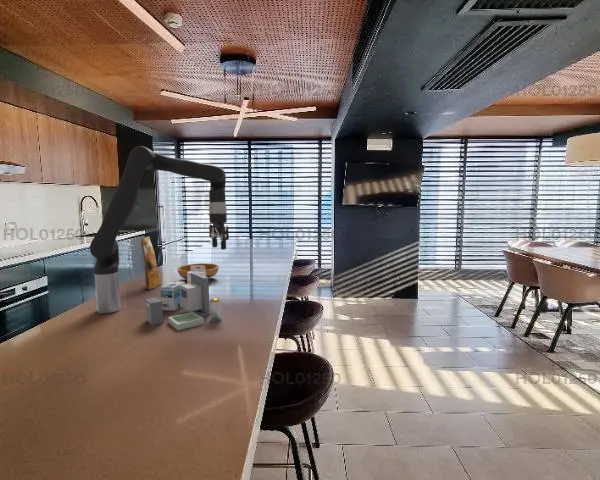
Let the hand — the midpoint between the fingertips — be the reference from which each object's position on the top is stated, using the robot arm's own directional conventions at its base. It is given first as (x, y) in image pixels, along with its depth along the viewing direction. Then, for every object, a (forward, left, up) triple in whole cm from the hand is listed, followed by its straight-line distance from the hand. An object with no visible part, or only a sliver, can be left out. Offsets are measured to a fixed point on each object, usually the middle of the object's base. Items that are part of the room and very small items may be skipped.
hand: (219, 248), depth 159 cm
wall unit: (-12, 0, -27) cm, 29 cm away
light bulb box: (-17, +13, -27) cm, 35 cm away
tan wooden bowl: (+13, +55, -27) cm, 63 cm away
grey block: (-30, -1, -27) cm, 40 cm away
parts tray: (-21, -11, -27) cm, 36 cm away
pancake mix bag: (-13, +59, -27) cm, 66 cm away
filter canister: (-10, -15, -27) cm, 32 cm away
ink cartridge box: (0, +27, -27) cm, 38 cm away
